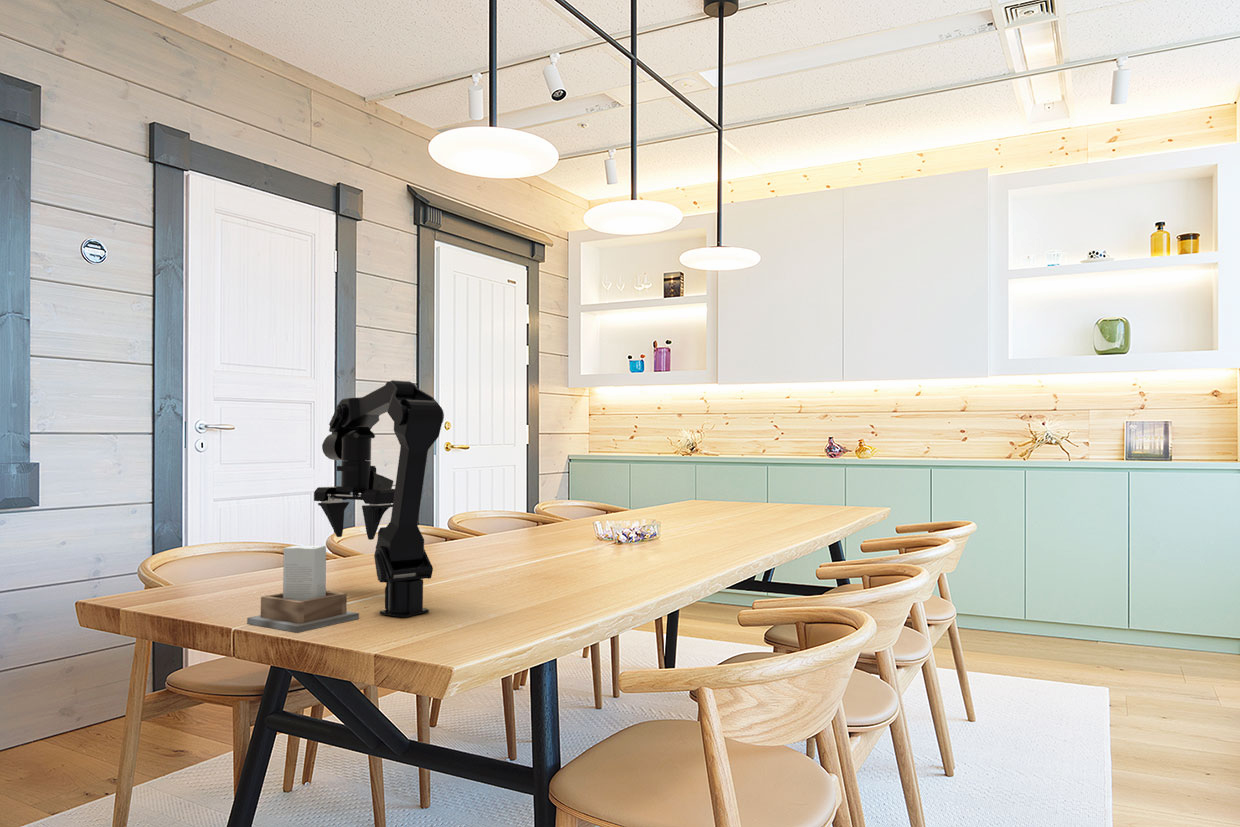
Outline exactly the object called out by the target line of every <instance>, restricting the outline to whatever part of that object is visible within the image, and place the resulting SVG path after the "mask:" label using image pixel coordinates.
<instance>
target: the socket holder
mask: <svg viewBox="0 0 1240 827" xmlns="http://www.w3.org/2000/svg"><path fill="white" fill-rule="evenodd" d="M347 598H348V594H347V592H346V593H343V592H337V591H330V590H326V596H325V597H319V598H314V599H309V600H303V601H297V600H290V599H283V592H280V593H275V594H270V595H263V596H261V597H260V615H256V616H255V615H254V616H250V617H247V619H246V624H248V625H253V626H258V627H263V628H269V629H274V630H275V629H277V630H281V631H286V632H293V633H301V632H306V631H311V630H314V629H319V628H323V627H327V626H328V627H329V626H332V625H337V624H342V623H345V622H351V621H355V620H359V618H360V613H359V612H354V611H348V609H347V604H348V602H347V600H348V599H347Z"/></svg>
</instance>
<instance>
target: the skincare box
mask: <svg viewBox="0 0 1240 827" xmlns="http://www.w3.org/2000/svg"><path fill="white" fill-rule="evenodd" d="M282 566H283V573H282V574H283V577H282V580H283V582H282V593H283V599H290V600H297V601H303V600H309V599H314V598H319V597H325V596H326V591H327V588H326V587H327V586H326V585H327V546H326V545H306V544H305V545H297V544H295V545H291V546H287V547H284V548H283V565H282Z"/></svg>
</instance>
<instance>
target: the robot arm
mask: <svg viewBox="0 0 1240 827" xmlns="http://www.w3.org/2000/svg"><path fill="white" fill-rule="evenodd" d="M385 413H387V414H388V416H390V418H391V419H392V421H393V432H394V434H395V436H396V438H397V441H398V443H399V445H400V449H399V456H398V462H397V463H398V464H397V471H396V476H395V477H396V478H395V481H394V480H393V479H391V478H388V477H386V476H384V475H380V474H378V473H377V467H376V465H372V439H375V437H376V434H375V433H374V432H373V431H372V428H373V427H374V426H375V425H376V424H377V423H378V422H379V421H380V416H381V415H383V414H385ZM444 418H445V413H444V410H443V408H442V406H440V404H439V403H438V401H437V400H436V399H435V398H434V397H433V396H432V395H429V393H426V392H424V391H423V390H421V389H419V387H418V386H417V385H416V384H415V383H414V382H411V380H410V381H409V380H407V381H406V380H395V379H394V380H393V379H392V380H390V381H387V382H386V383H385V385H383V386H381V387H379V388H377V389H375V390H373V391H371V392H369V393H368V394H366V395H364V396H360V397H348V398H347V397H346V398H342V399H341V400H340V401H339V402H338V404H337V405H336V407H335V411H334V413H333V415H332V416H331V420H330V422H329V424H328V425H329V429H328V431H329V433H330V434H328V435H327V436H326V437H325V439H324V440H323V442H322V444H321V447H322V453H323V454H324V456H325V457H327V458H328V459H329V460H332V461H341V465H336V472H341V474H340V479H341V480H340V485H338V486H319V487H317V488H316V489H315V490H314V491H313V501H314V502H317V505H318V506H320V507H321V509H322V511H323V513H324V514H325V517H327V520H328V522H329V524H330V526H331V528H332V530H333V532H334V534H335V536H336V538H342V537H343V533H344V522H345V510H346V508H348V505H349V504H350V501H347V500H353V501H354V500H355V501H363V502H364V504H363V505H361V510H362V514H363V520H364V525H365V526H364V528H365V531H366V532H365V533H366V535H367V539H368V540H369V541H371V540H374V538H375V536H376V534H377V540H376V541H377V542H376V545H375V551H374V555H373V556H374V557H373V558H374V564H375V569H376V570H375V571H376V576H377V580H378V581H379V583H385V586H384V609H383V610H379V614H380V615H386V616H391V617H397V618H408V617H412V616H416V615H420V614H421V615H422V614H424V613H429V612H430V609H429V608H424V579H432V576H433V570H434V567H433V565H432V563H431V561H430V558H429V556H428V554H427V553H426V550H425V539H424V537H423V534H422V532H421V530H420V528H419V518H420V509H421V503H422V495H423V489H424V483H425V474H426V467H427V462H428V461H427V458H428V453H429V450H430V448H431V447H432V446H433V444H434V443H435V442H436V441H437V440H438V438H439V437H440V434H441V430H442V425H443V422H444ZM394 482H395V486H394V488H393V485H394ZM351 493H352V494H351ZM390 508H392V509H391V516H390V522H389V523H388V524H387V525H386V526H382V527H379V525H380V523H381V521H382V518H383V515H384V514H385V513H386V512H387V511H388V509H390Z"/></svg>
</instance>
